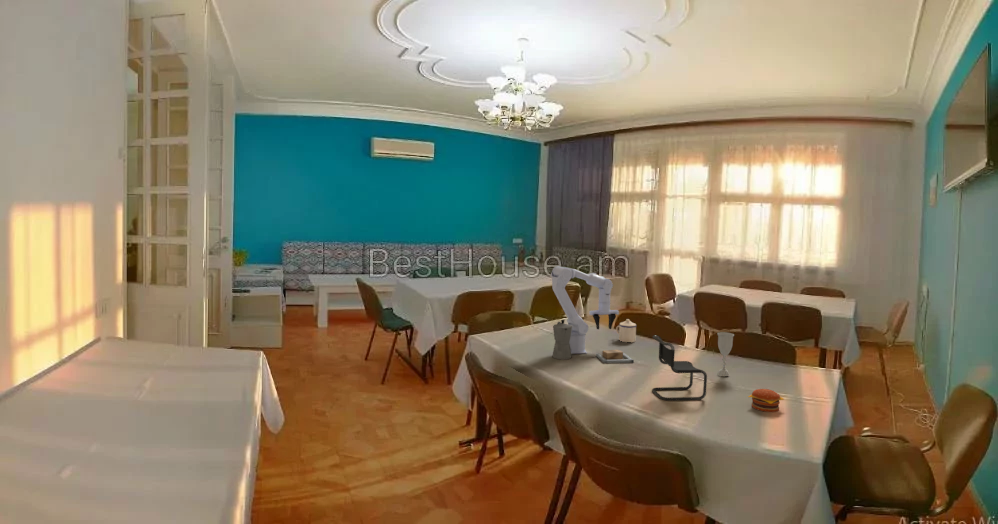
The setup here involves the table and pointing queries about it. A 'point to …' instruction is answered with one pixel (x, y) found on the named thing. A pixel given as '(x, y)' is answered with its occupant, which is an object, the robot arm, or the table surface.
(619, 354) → the walnut block
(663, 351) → the chair
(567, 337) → the coffeepot
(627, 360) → the grey u-shaped bracket
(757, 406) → the hamburger
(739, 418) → the table surface
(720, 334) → the chalice
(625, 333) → the teacup with lid
